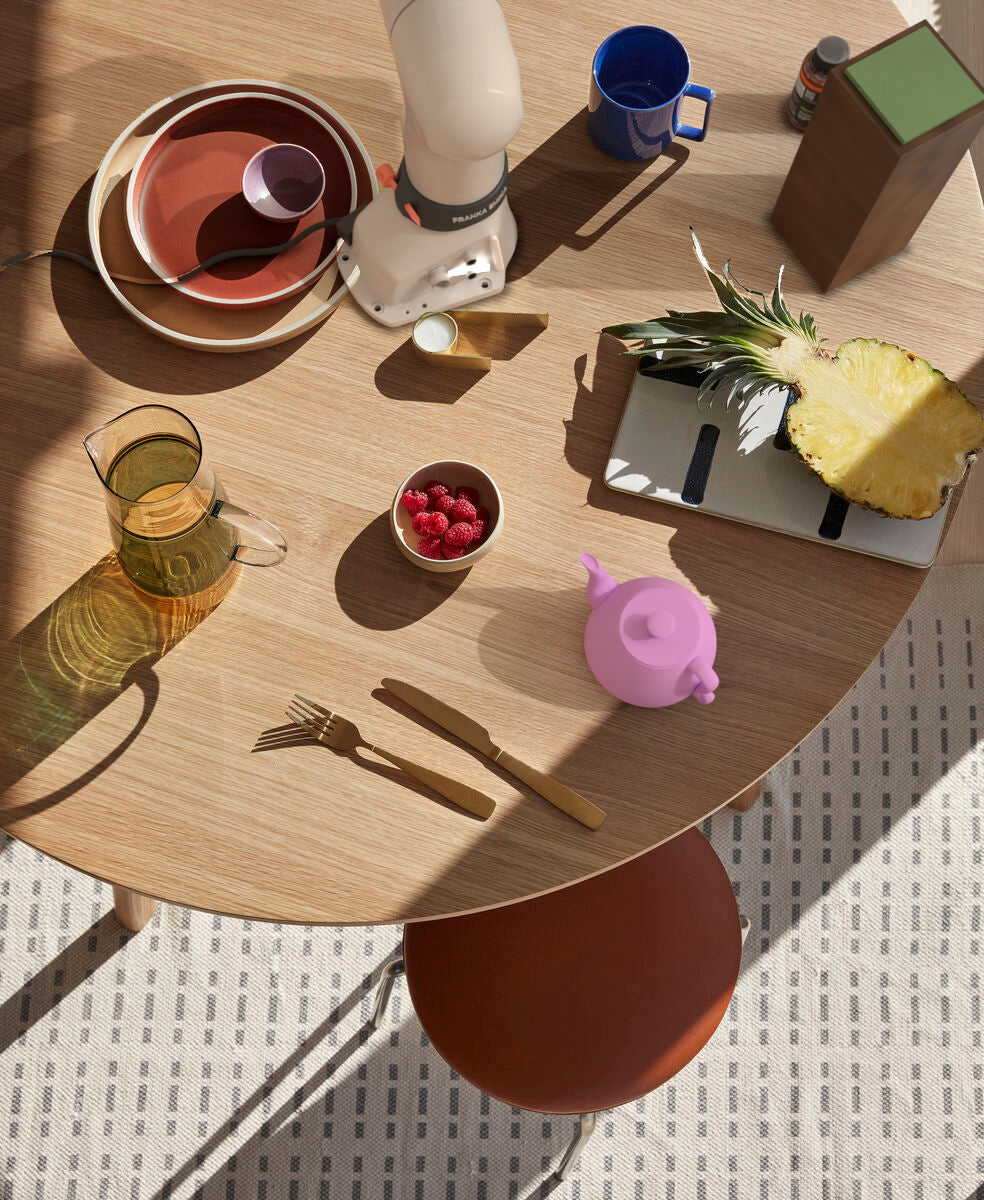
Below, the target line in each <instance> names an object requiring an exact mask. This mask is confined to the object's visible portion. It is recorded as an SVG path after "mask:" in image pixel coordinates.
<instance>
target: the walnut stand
mask: <svg viewBox="0 0 984 1200" xmlns="http://www.w3.org/2000/svg"><path fill="white" fill-rule="evenodd" d="M924 26H927V28H928V29H929V30H930V31H931V32H932V34H933V35H934V36H935V37H936V38H937V40H938V41H939V42H940V43H941V44H942V46H943V47H944V48H945V49H946V50H947V52H948V53H949V54H950V55H951V56H952V57H953V59H954V60H955V61H956V62H957V63H958V65H959V66H960V67H961V68H962V69H963V71H964V72H965V73H966V74H967V75H968V77H969V78H970V79H971V80H972V81H973V82H974V84H975V85H976V86H977V87H978V88H979V90H980V91H981V92H982V93H983V94H984V86H983V85H982V84H981V83H980V82H979V80H978V79H977V78H976V76H974V74H973V73H972V72H971V71H970V69H969V68H968V67H967V66H966V65H965V64H964V63H963V61H962V60H961V59H960V57H959V56H958V55H957V54H956V53H955V52H954V50H953V49H952V48H951V47H950V46H949V45H948V44H947V42H946V41H945V40H944V38H942V36H941V35H940V34H939V33H938V32H937V30H936V29H935V28H934V26H933V25H932V24H931V23H930V22H929V21H928V19H927V18H924V19H922V20H921V21H919V22H917V23H915V24H913V25H911V26H909V27H907V28H906V29H903V30H902V31H900V32H898V33H895V34H894V35H892V36H891V37H888V38H887V39H885V40H883V41H881V42H879V43H877V44H876V45H874V46H872V47H870V48H868V49H866V50H865V51H863V52H860V53H859V54H857V55H855V56H853V57H851V58H849V60H848V61H846V62H844V63H842V64H840V65H838V66H836V67H834V68H833V69H831V70H830V71H829V74H828V76H827V79H826V81H825V84H824V86H823V89H822V91H821V94H820V96H819V98H818V101H817V103H816V106H815V108H814V111H813V113H812V116H811V118H810V121H809V123H808V126H807V128H806V130H805V131H804V132H803V136H802V137H801V140H800V143H799V145H798V148H797V150H796V153H795V154H794V157H793V160H792V163H791V165H790V167H789V170H788V172H787V175H786V177H785V180H784V182H783V185H782V187H781V190H780V192H779V194H778V197H777V200H776V202H775V205H774V207H773V209H772V212H771V214H770V217H769V219H768V220H769V222H770V223H771V224H772V226H773V227H774V229H775V230H776V231H777V233H778V234H779V235H780V236H781V239H783V240H784V242H785V243H786V244H787V246H788V247H789V249H790V250H791V251H792V252H793V254H794V255H795V256H796V257H797V259H798V261H800V264H801V265H802V266H803V267H804V268H805V269H806V271H807V272H808V274H809V275H810V276H811V277H812V279H813V280H814V281H815V283H816V284H817V285H818V287H819V289H821V291H822V292H823V294H824V295H826V294H828V293H829V292H831V291H833V290H836V289H837V288H838V287H840V286H842V285H844V284H845V283H847V282H849V281H851V280H853V279H854V278H856V277H858V276H860V275H861V274H863V273H865V272H867V271H869V270H870V269H872V268H874V267H875V266H877V265H879V264H881V263H884V261H886V260H888V259H890V258H892V257H893V256H895V255H897V254H899V253H900V252H902V251H904V250H905V249H906V248H907V246H908V245H909V243H910V241H912V239H913V237H914V236H915V234H916V232H917V231H918V229H919V227H920V226H921V224H922V223H923V222H924V219H925V218H926V216H927V215H928V213H929V212H930V210H931V209H932V207H933V206H934V204H935V202H936V200H937V199H938V198H939V196H940V195H941V193H942V191H944V188H945V187H946V186H947V184H948V182H949V180H950V179H951V177H952V176H953V174H954V173H955V171H956V170H957V168H958V166H959V165H960V163H961V161H962V160H963V159H964V157H965V155H966V154H967V152H968V150H969V149H970V148H971V146H972V144H973V143H974V141H975V140H976V138H977V137H978V135H979V133H980V132H981V130H982V129H983V127H984V100H983V101H982V102H980V103H978V104H976V105H975V106H973V107H971V108H969V109H967V110H965V111H964V112H962V113H960V114H958V115H956V116H955V117H953V118H951V119H949V120H947V121H946V122H944V123H942V124H940V125H938V126H936V127H935V128H933V129H931V130H929V131H927V132H926V133H924V134H922V135H920V136H918V137H916V138H915V139H913V140H911V141H909V142H907V143H906V144H904V145H902V144H901V142H900V141H899V140H898V139H897V137H896V136H895V135H894V134H893V132H892V131H891V130H890V129H889V127H888V126H887V125H886V124H885V122H884V121H883V120H882V119H881V117H880V116H879V115H878V114H877V112H876V111H875V110H874V109H873V108H872V106H871V105H870V104H869V103H868V101H867V100H866V99H865V98H864V96H863V95H862V94H861V93H860V91H859V90H858V89H857V88H856V86H855V85H854V84H853V83H852V81H851V80H850V79H849V78H848V77H847V75H846V74H845V73H844V72H845V69H846V68H848V67H849V66H851V65H853V64H855V63H857V62H859V61H861V60H863V59H864V58H866V57H868V56H870V55H872V54H874V53H876V52H877V51H879V50H881V49H883V48H885V47H887V46H889V45H890V44H892V43H894V42H896V41H898V40H900V39H902V38H904V37H905V36H907V35H909V34H911V33H913V32H915V31H917V30H918V29H920V28H922V27H924Z"/></svg>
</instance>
